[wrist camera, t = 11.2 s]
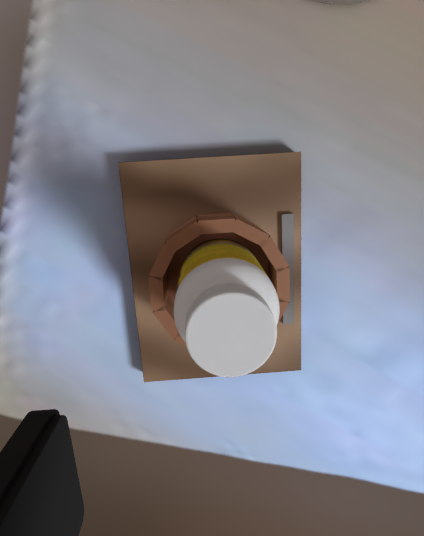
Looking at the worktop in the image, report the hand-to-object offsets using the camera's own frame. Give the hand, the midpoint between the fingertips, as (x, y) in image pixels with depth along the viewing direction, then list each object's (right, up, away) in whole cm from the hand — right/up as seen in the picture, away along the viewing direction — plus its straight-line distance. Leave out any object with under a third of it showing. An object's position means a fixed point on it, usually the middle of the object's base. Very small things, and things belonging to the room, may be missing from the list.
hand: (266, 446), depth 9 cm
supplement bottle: (-1, +4, +16) cm, 17 cm away
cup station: (-1, +4, +18) cm, 19 cm away
